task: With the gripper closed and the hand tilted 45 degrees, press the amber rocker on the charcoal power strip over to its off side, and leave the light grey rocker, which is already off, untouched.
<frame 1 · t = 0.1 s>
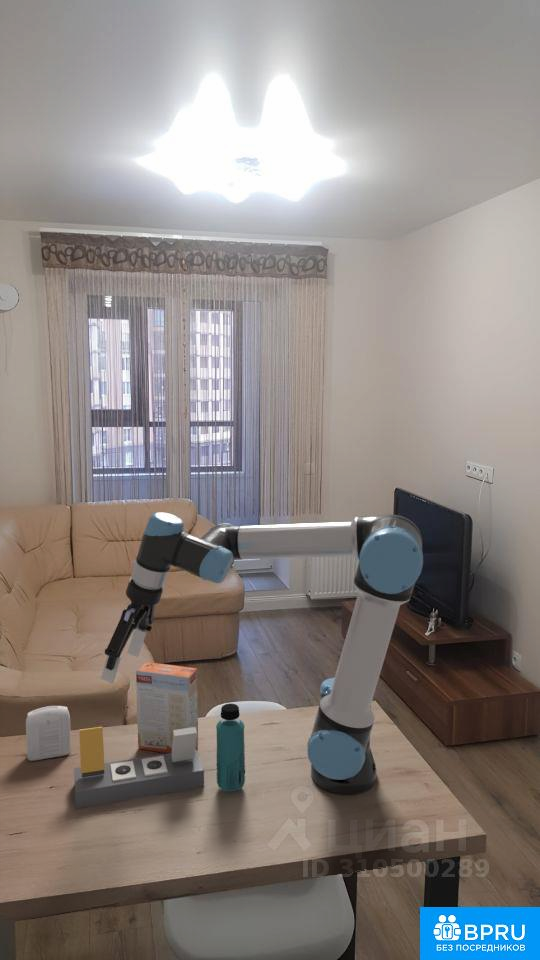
hand: (120, 667, 154), 28 cm above the table, tool tilted 20°, fingers open, 13 cm apart
cracker box: (168, 748, 173), on the table
amber rocker: (92, 751, 155), point 9 cm above the table, hinge at 22.0°
photo printer: (49, 755, 169), on the table
power strip: (139, 785, 158), on the table
grey rocker: (183, 746, 157), point 9 cm above the table, hinge at -22.0°
beverage bottle: (230, 789, 157), on the table
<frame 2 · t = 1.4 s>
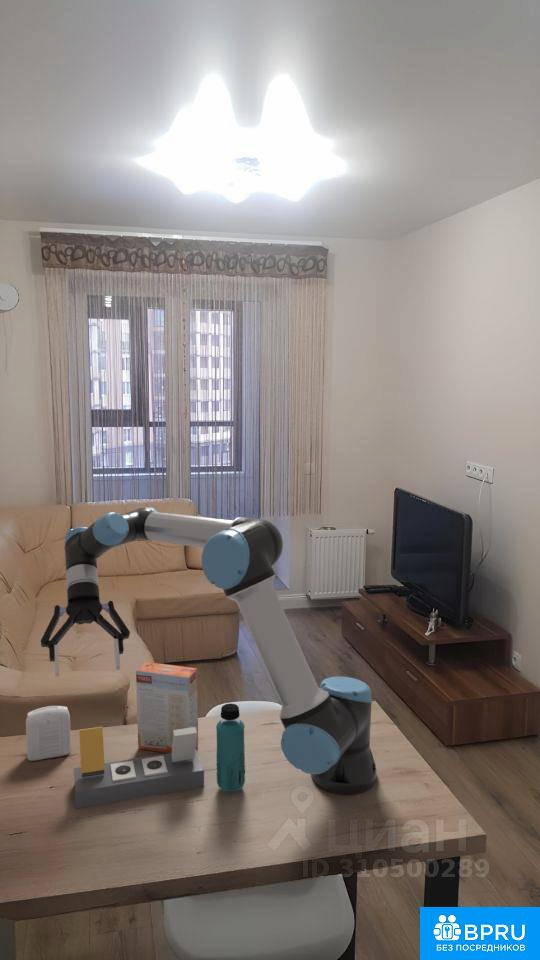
hand: (88, 671, 160), 24 cm above the table, tool tilted 45°, fingers open, 13 cm apart
nothing on the table moved.
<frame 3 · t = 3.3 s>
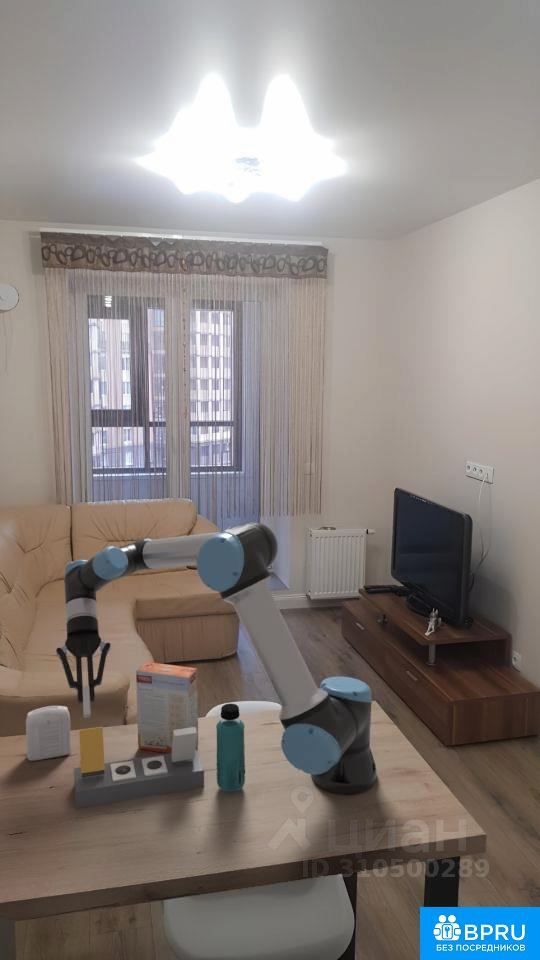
hand: (87, 715, 159), 14 cm above the table, tool tilted 45°, fingers closed
nothing on the table moved.
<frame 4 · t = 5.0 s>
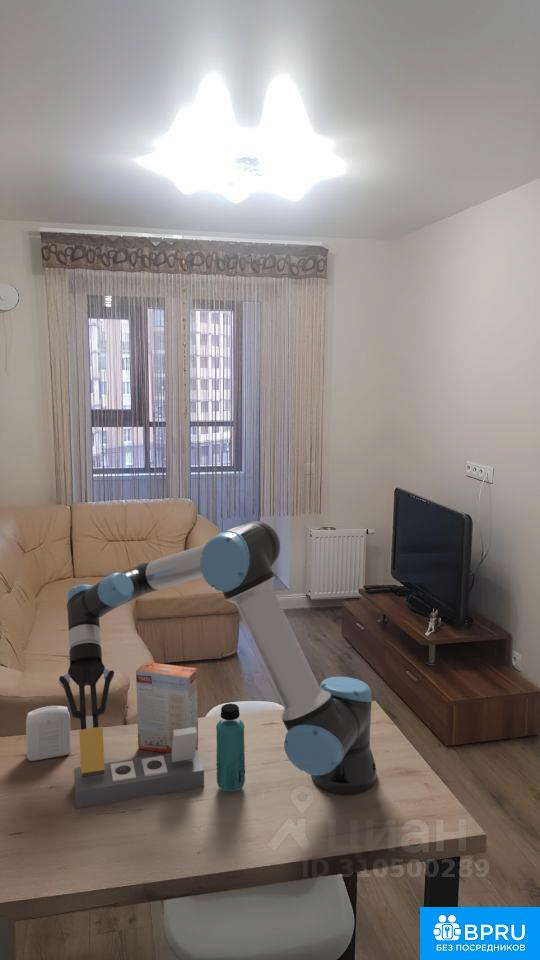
hand: (90, 746, 157), 9 cm above the table, tool tilted 45°, fingers closed
amber rocker: (92, 752, 155), point 9 cm above the table, hinge at 20.7°, touching gripper
everything else where it was.
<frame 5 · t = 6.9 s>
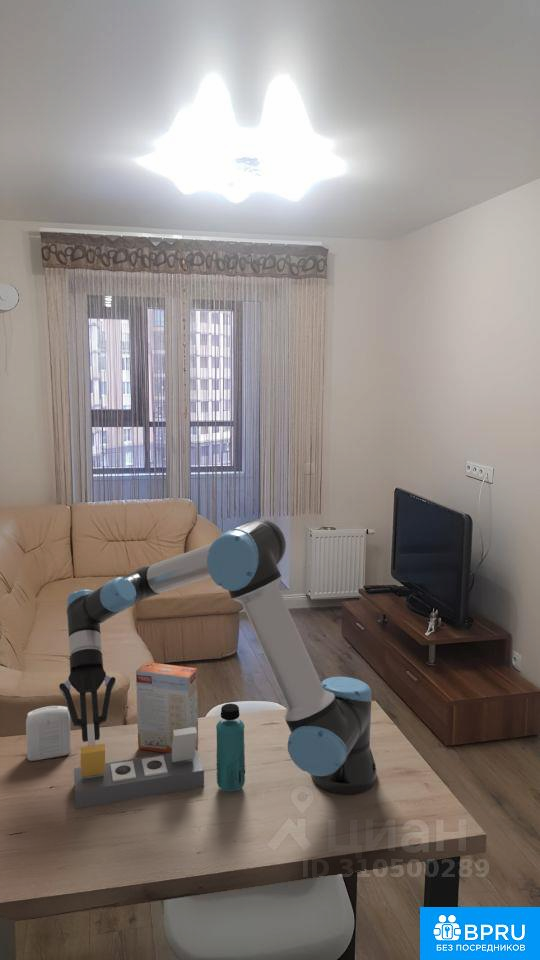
hand: (92, 755, 153), 9 cm above the table, tool tilted 45°, fingers closed
amber rocker: (92, 761, 151), point 9 cm above the table, hinge at -27.1°
everything else where it was.
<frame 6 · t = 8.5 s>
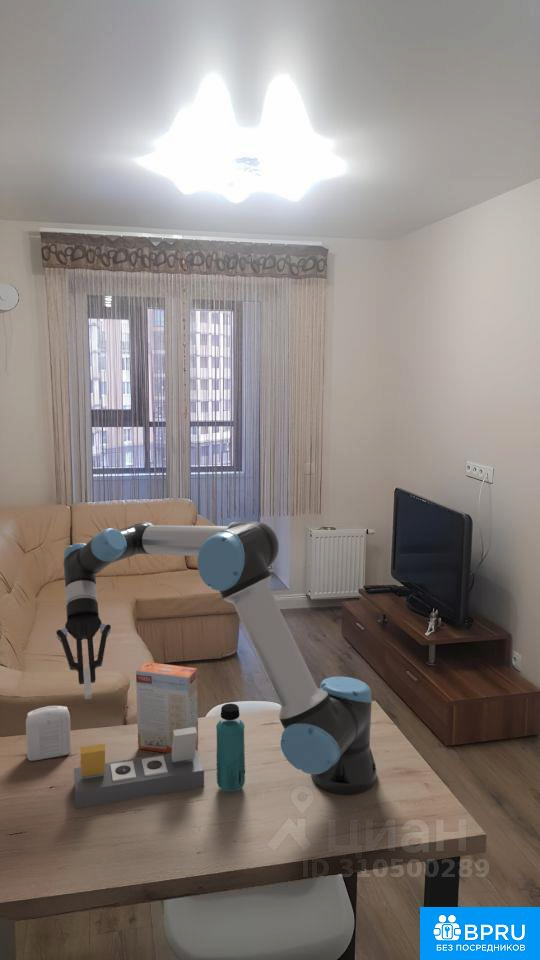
hand: (88, 696, 159), 19 cm above the table, tool tilted 45°, fingers closed
nothing on the table moved.
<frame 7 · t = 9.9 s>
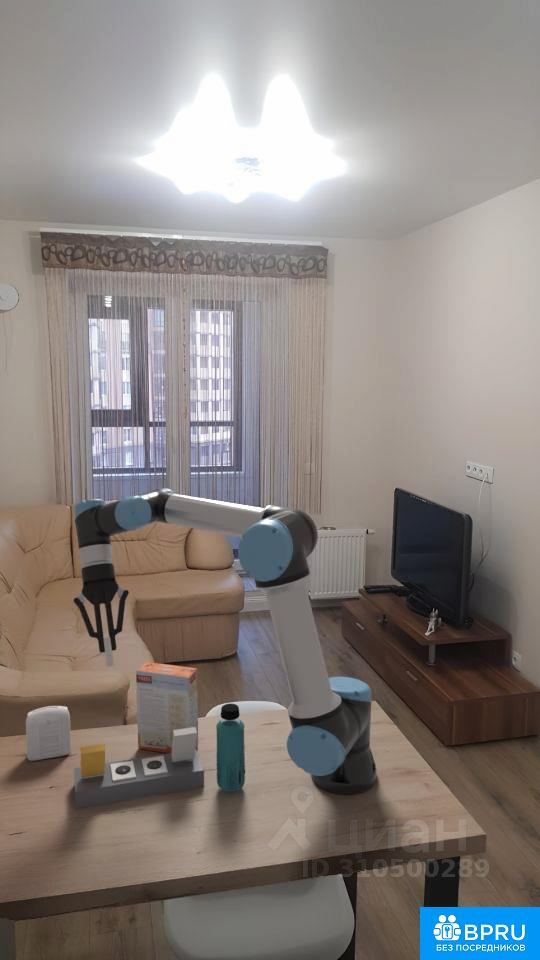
hand: (110, 666, 160), 25 cm above the table, tool tilted 25°, fingers closed
nothing on the table moved.
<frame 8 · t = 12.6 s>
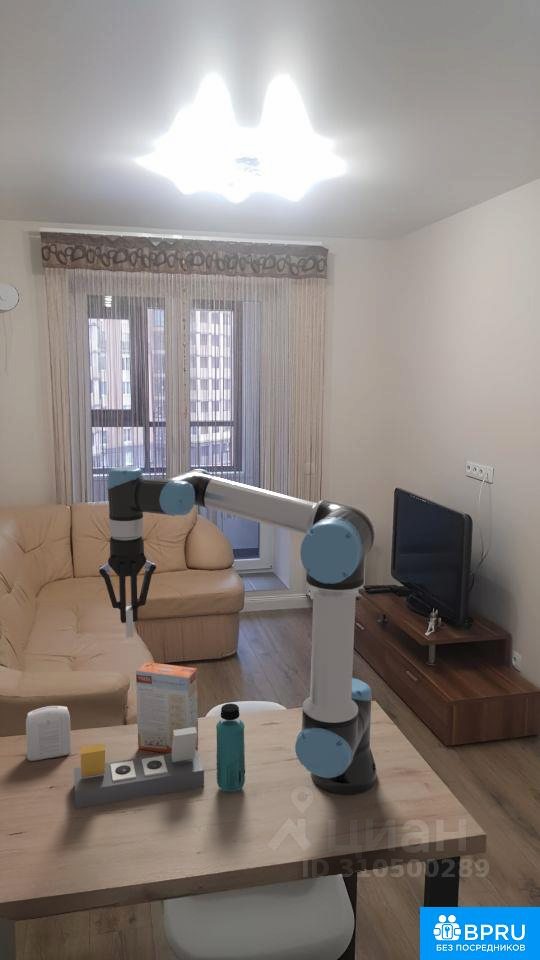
hand: (129, 634, 160), 32 cm above the table, tool pointing down, fingers closed
nothing on the table moved.
at the end: amber rocker at -27° (first picture: +22°); grey rocker at -22° (first picture: -22°) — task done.
